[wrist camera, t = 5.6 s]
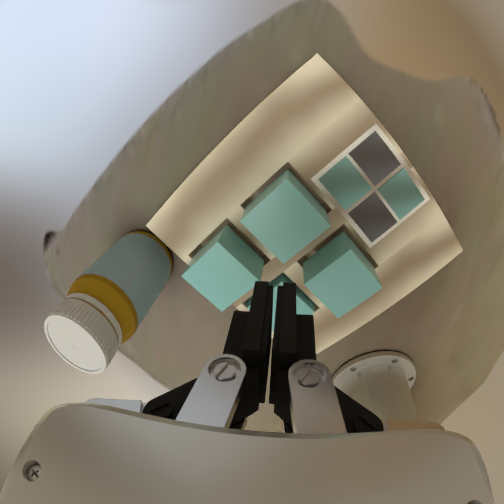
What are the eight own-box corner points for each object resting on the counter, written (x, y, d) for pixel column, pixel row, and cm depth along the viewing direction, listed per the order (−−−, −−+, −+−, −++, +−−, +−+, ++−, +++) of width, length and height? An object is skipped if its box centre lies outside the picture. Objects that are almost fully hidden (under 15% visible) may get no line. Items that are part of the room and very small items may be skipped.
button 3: (325, 210, 24) (330, 226, 21) (284, 244, 26) (283, 264, 23) (287, 169, 23) (287, 178, 20) (246, 206, 25) (239, 221, 22)
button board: (448, 235, 27) (465, 252, 24) (302, 341, 36) (302, 365, 32) (313, 60, 22) (317, 52, 19) (160, 213, 30) (143, 227, 27)
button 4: (264, 260, 27) (260, 281, 24) (229, 289, 29) (221, 311, 26) (226, 224, 26) (217, 241, 23) (193, 256, 28) (181, 276, 25)
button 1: (373, 266, 26) (382, 287, 23) (334, 295, 28) (338, 318, 25) (343, 230, 25) (350, 249, 22) (302, 263, 27) (303, 284, 24)
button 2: (313, 291, 31) (314, 312, 28) (280, 314, 33) (278, 335, 30) (283, 262, 30) (282, 281, 27) (251, 288, 32) (246, 308, 29)
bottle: (139, 215, 31) (51, 293, 17) (186, 260, 32) (126, 359, 19) (110, 255, 34) (33, 334, 20) (153, 294, 35) (93, 387, 22)
